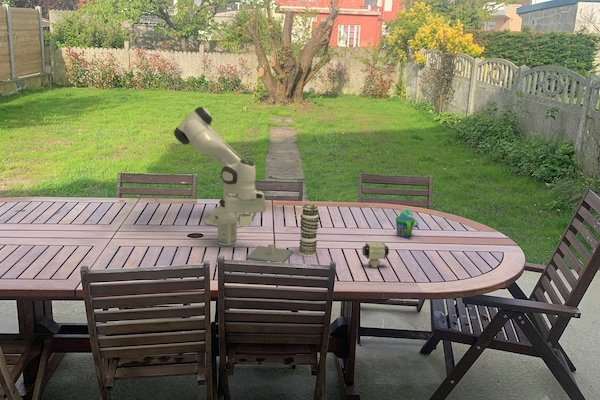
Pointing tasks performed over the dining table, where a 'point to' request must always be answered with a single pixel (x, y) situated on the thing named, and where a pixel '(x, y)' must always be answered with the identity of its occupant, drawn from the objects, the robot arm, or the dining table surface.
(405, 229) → the snack cup
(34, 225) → the dining table surface
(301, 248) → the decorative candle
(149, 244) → the dining table surface
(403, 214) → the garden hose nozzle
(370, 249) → the pneumatic valve
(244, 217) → the cream open box
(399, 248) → the dining table surface
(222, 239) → the supplement tub
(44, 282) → the dining table surface
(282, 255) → the grey square panel
